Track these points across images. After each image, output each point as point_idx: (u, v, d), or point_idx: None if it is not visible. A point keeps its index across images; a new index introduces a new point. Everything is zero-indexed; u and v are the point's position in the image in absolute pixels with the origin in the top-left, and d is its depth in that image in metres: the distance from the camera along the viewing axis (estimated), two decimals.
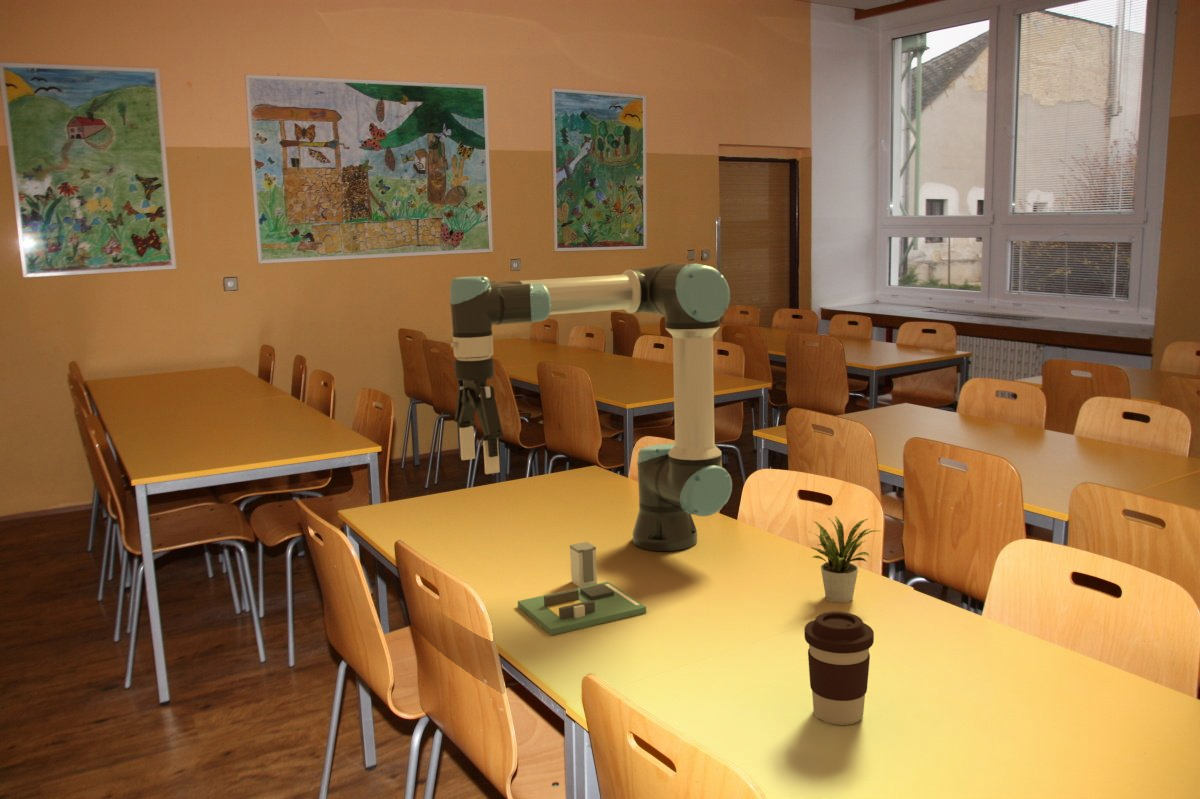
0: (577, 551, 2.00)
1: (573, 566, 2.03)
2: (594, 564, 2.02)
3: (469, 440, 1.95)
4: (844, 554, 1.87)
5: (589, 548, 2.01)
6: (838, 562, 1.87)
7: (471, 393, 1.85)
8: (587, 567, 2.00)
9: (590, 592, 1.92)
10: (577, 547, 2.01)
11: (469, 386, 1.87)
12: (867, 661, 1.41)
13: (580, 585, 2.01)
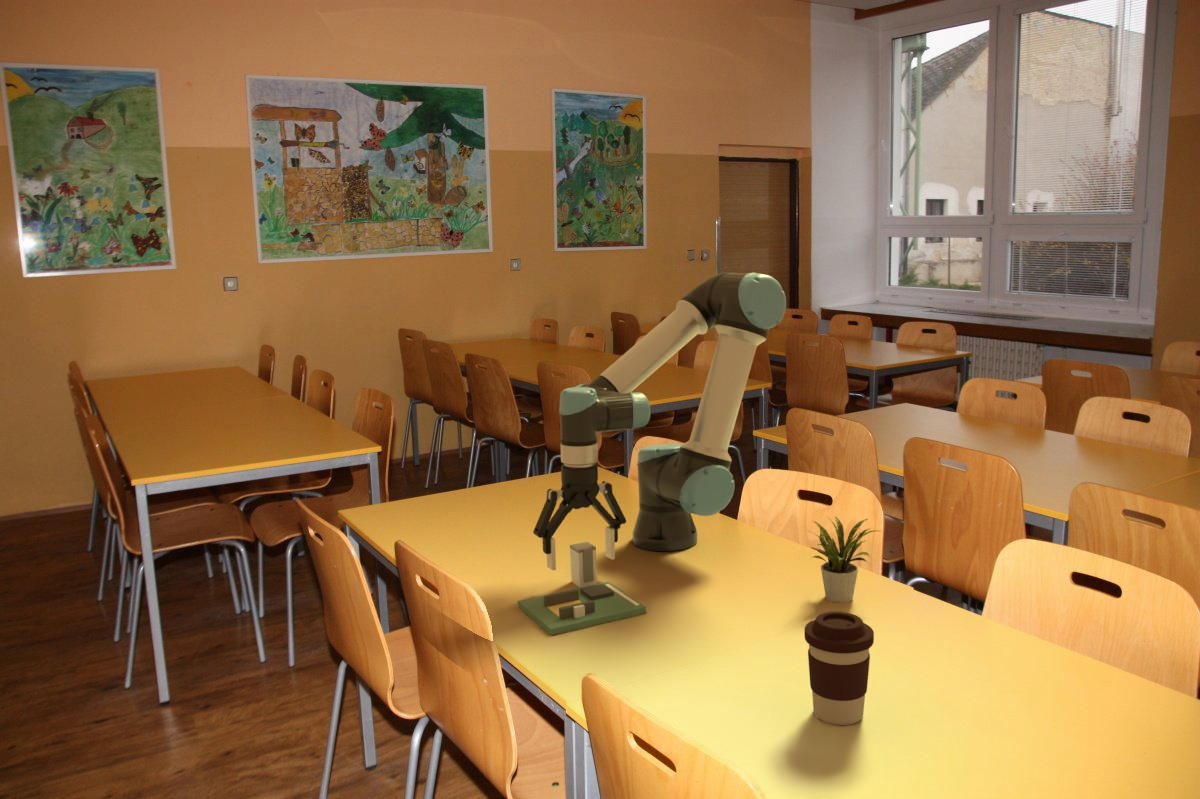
0: (577, 551, 2.00)
1: (573, 566, 2.03)
2: (594, 564, 2.02)
3: (609, 540, 2.05)
4: (844, 554, 1.87)
5: (589, 548, 2.01)
6: (838, 562, 1.87)
7: None
8: (587, 567, 2.00)
9: (590, 592, 1.92)
10: (577, 547, 2.01)
11: None
12: (867, 661, 1.41)
13: (580, 585, 2.01)
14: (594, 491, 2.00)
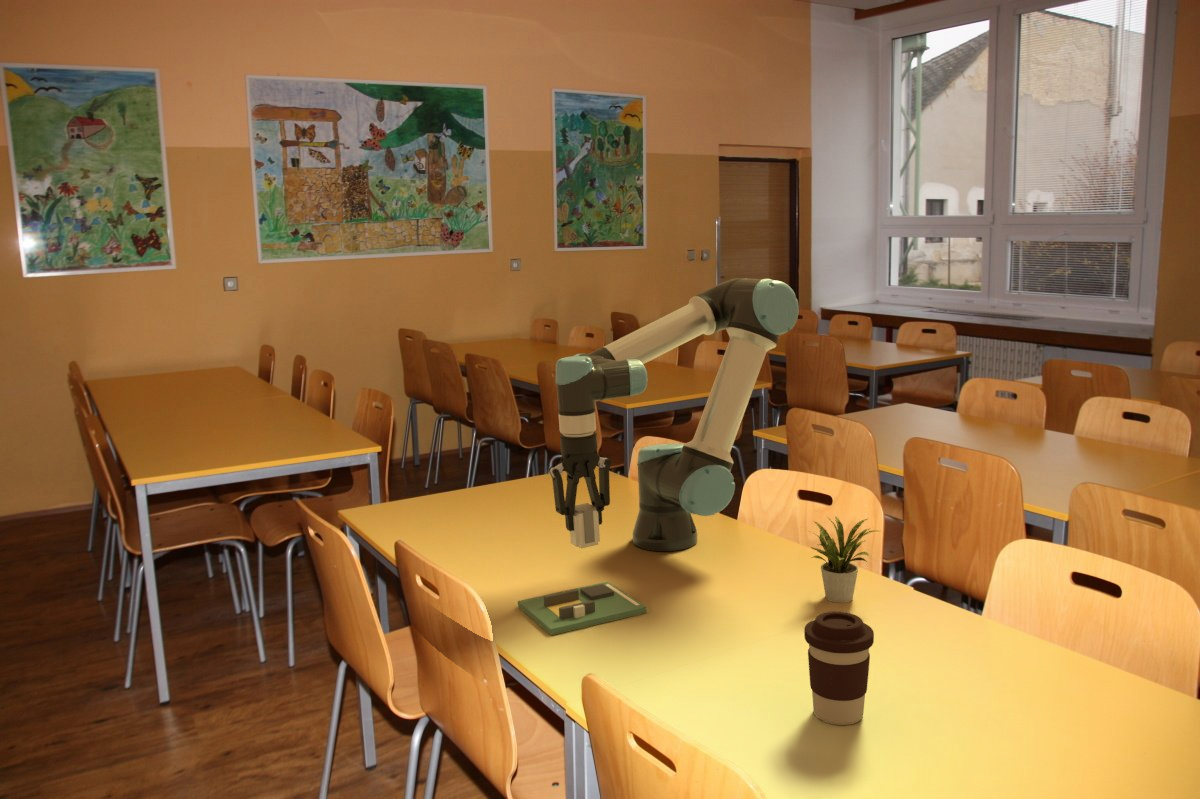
0: (577, 512, 1.99)
1: None
2: (595, 525, 2.01)
3: None
4: (844, 554, 1.87)
5: (589, 509, 1.99)
6: (838, 562, 1.87)
7: None
8: (588, 528, 1.99)
9: (590, 592, 1.92)
10: (577, 508, 2.00)
11: None
12: (867, 661, 1.41)
13: (581, 546, 2.00)
14: (594, 459, 1.99)
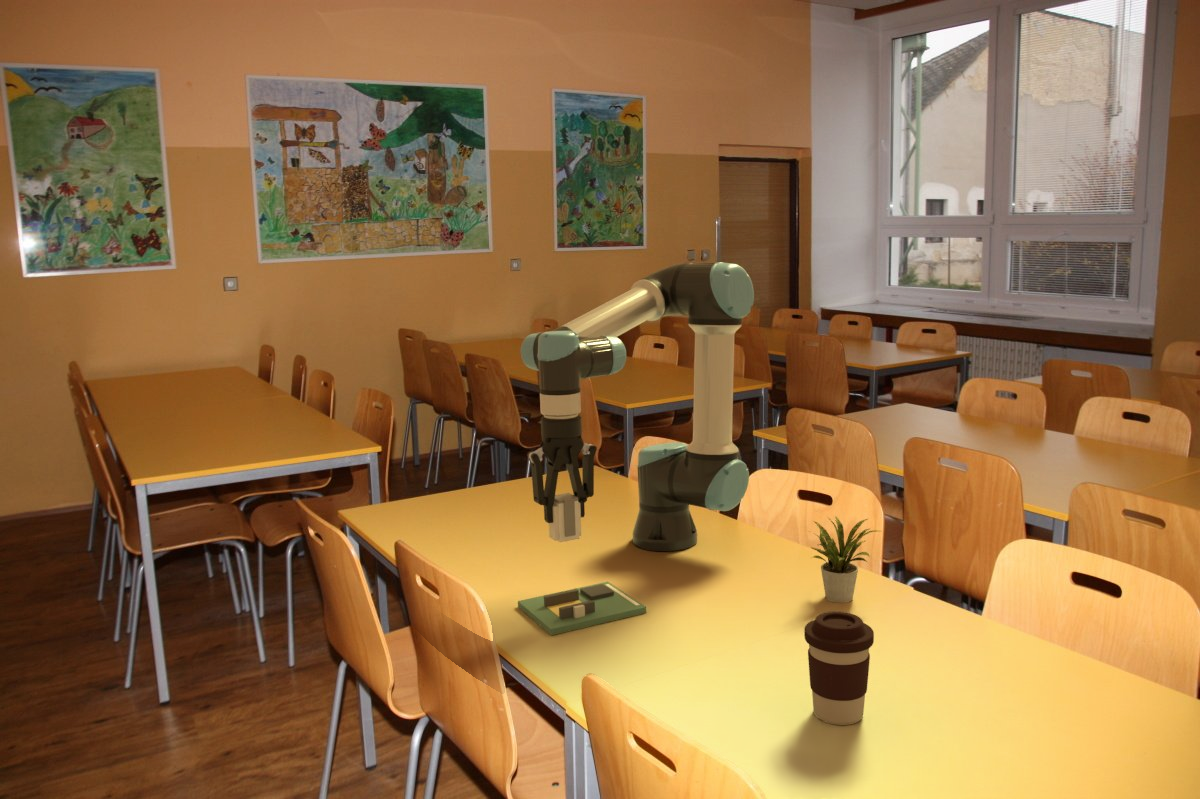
0: (557, 502, 1.81)
1: None
2: (576, 517, 1.82)
3: None
4: (844, 554, 1.87)
5: (571, 499, 1.81)
6: (838, 562, 1.87)
7: None
8: (568, 520, 1.81)
9: (590, 592, 1.92)
10: (557, 498, 1.82)
11: None
12: (867, 661, 1.41)
13: (560, 540, 1.81)
14: (577, 445, 1.81)
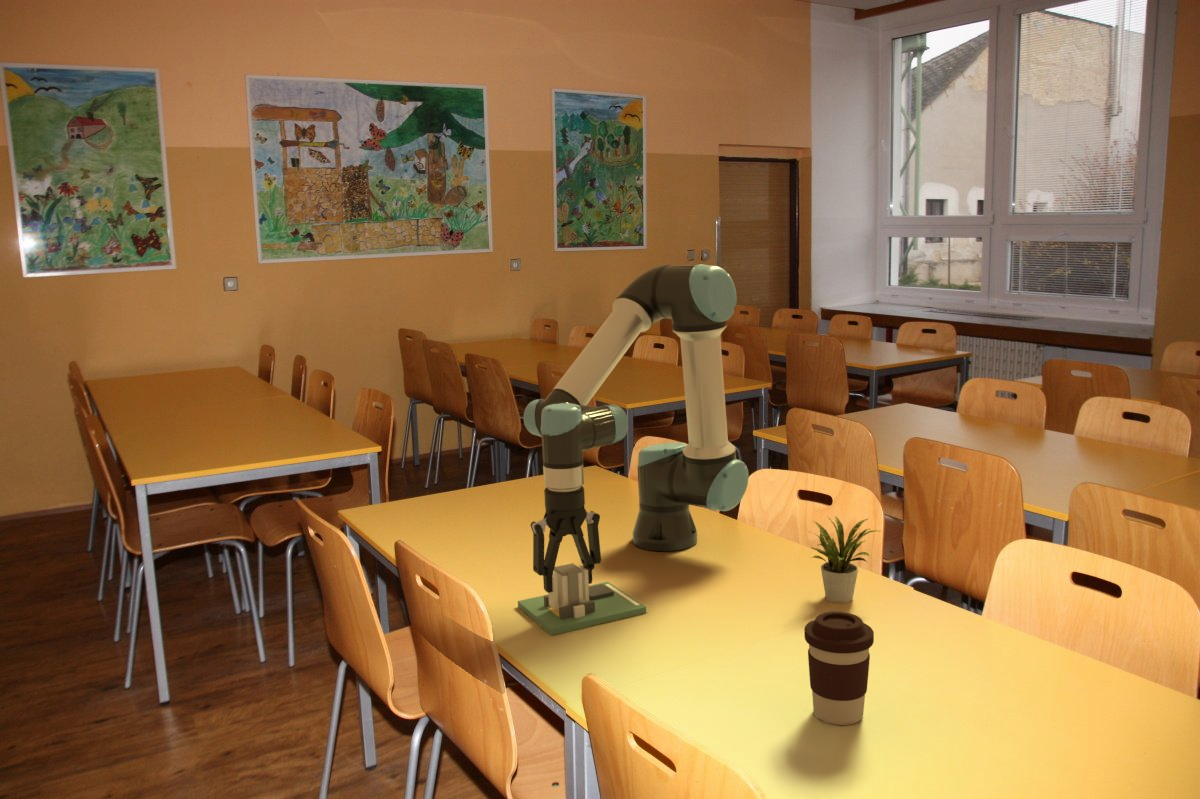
0: (561, 574, 1.83)
1: None
2: (580, 588, 1.85)
3: (582, 582, 1.87)
4: (844, 554, 1.87)
5: (574, 571, 1.84)
6: (838, 562, 1.87)
7: None
8: (572, 592, 1.84)
9: (590, 592, 1.92)
10: (561, 570, 1.84)
11: None
12: (867, 661, 1.41)
13: None
14: (580, 516, 1.84)
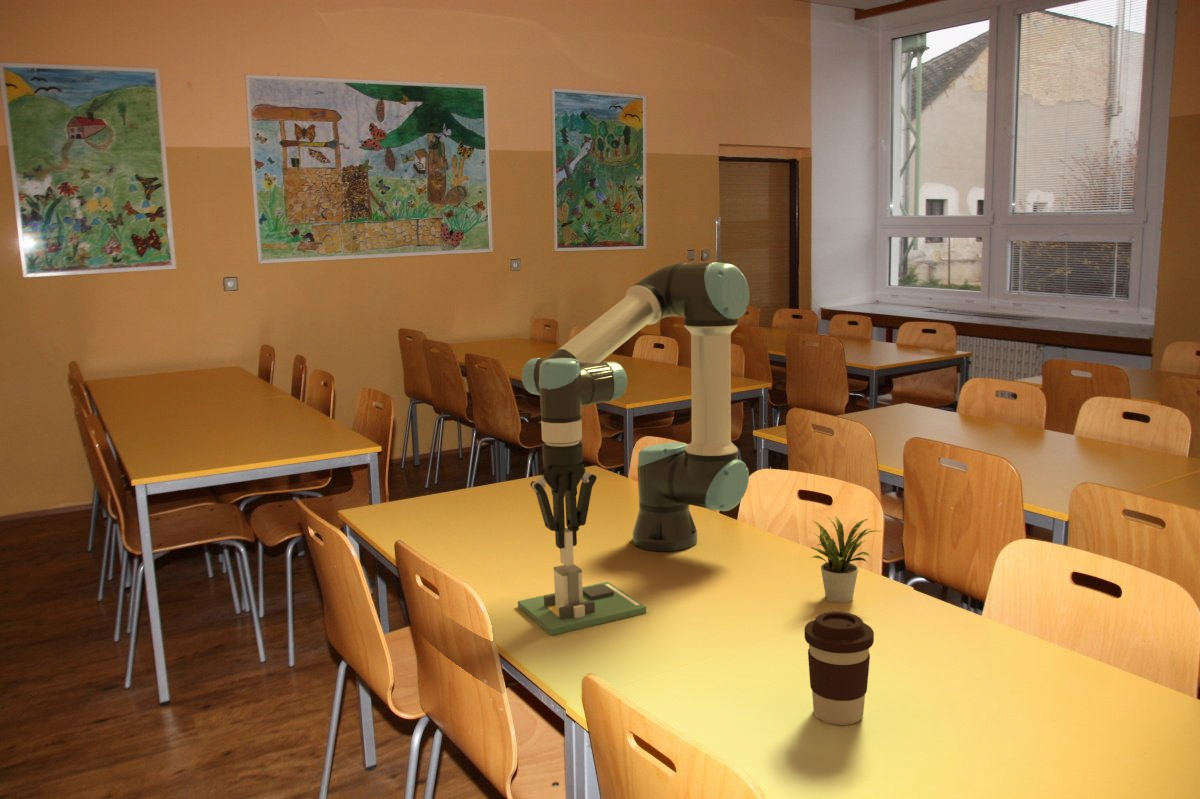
0: (561, 574, 1.83)
1: (557, 590, 1.86)
2: (580, 588, 1.85)
3: None
4: (844, 554, 1.87)
5: (574, 571, 1.84)
6: (838, 562, 1.87)
7: None
8: (572, 592, 1.84)
9: (590, 592, 1.92)
10: (561, 570, 1.84)
11: None
12: (867, 661, 1.41)
13: None
14: (578, 471, 1.82)
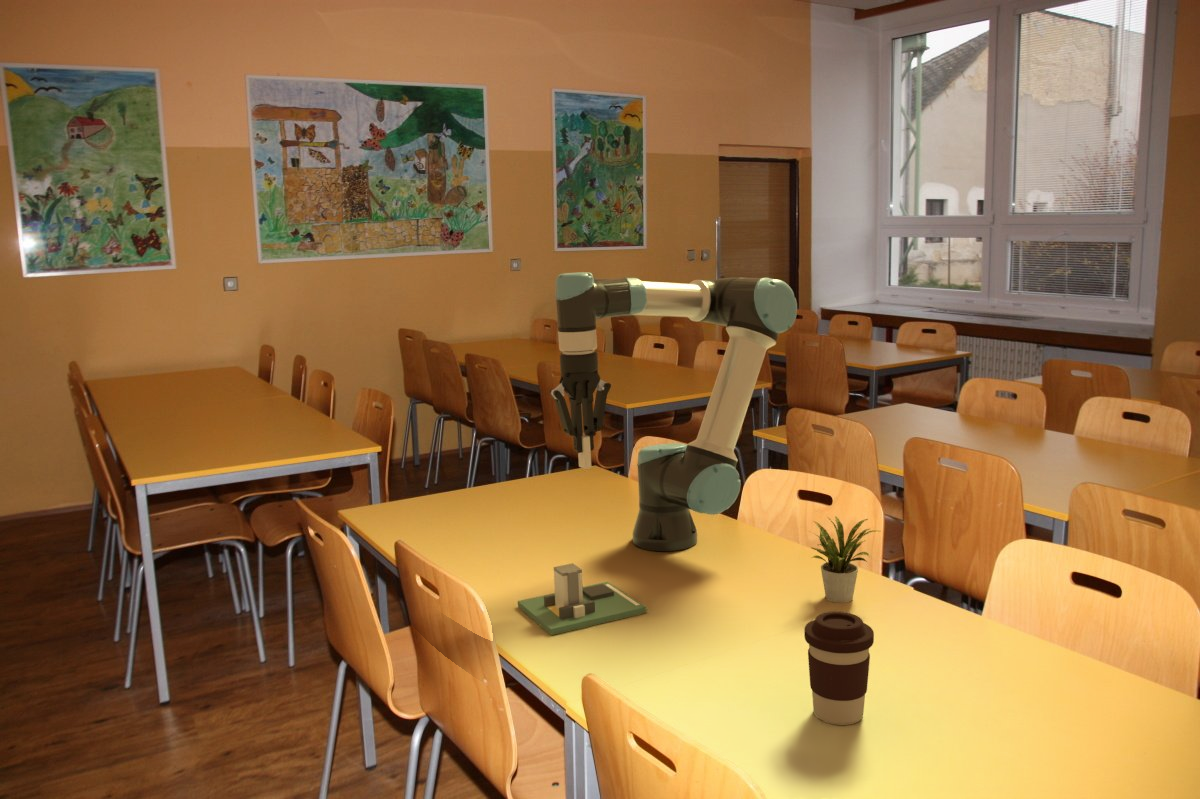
0: (561, 574, 1.83)
1: (557, 590, 1.86)
2: (580, 588, 1.85)
3: None
4: (844, 554, 1.87)
5: (574, 571, 1.84)
6: (838, 562, 1.87)
7: None
8: (572, 592, 1.84)
9: (590, 592, 1.92)
10: (561, 570, 1.84)
11: None
12: (867, 661, 1.41)
13: None
14: (594, 379, 1.93)
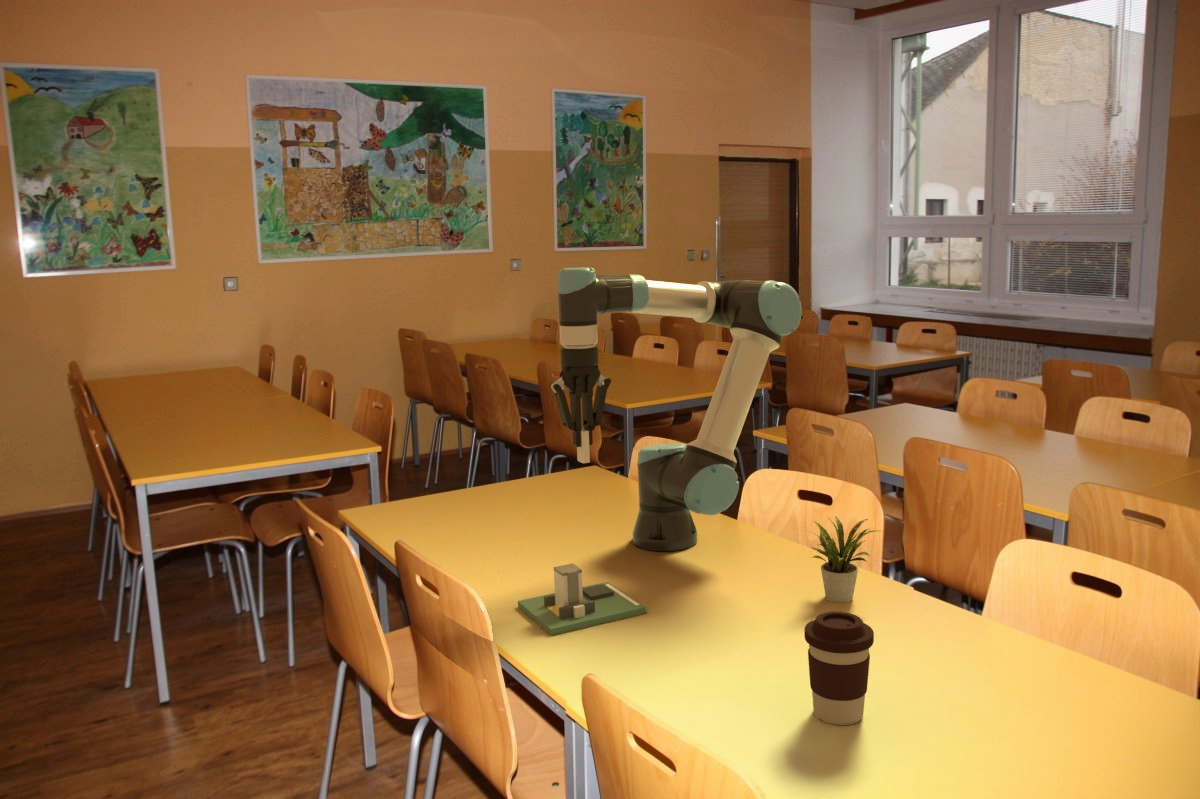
0: (561, 574, 1.83)
1: (557, 590, 1.86)
2: (580, 588, 1.85)
3: None
4: (844, 554, 1.87)
5: (574, 571, 1.84)
6: (838, 562, 1.87)
7: None
8: (572, 592, 1.84)
9: (590, 592, 1.92)
10: (561, 570, 1.84)
11: None
12: (867, 661, 1.41)
13: None
14: (594, 374, 1.94)
